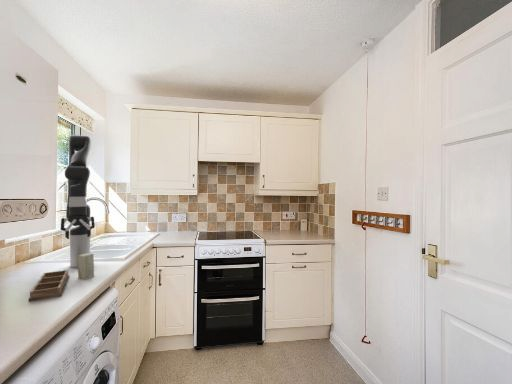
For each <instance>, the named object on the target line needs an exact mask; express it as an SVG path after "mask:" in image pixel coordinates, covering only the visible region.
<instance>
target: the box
mask: <svg viewBox="0 0 512 384" xmlns="http://www.w3.org/2000/svg"><path fill="white" fill-rule="evenodd" d="M94 258H95V257H94V253H91V252H90V253H86V254H82V255H78V267H77V274H78V275H77V276H78V277H77V279H79V280H83V281H85V280H89V279H91V278H93V277H95V267H94V266H95V264H94V263H95V262H94V261H95V259H94Z"/></svg>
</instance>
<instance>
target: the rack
mask: <svg viewBox="0 0 512 384" xmlns="http://www.w3.org/2000/svg"><path fill="white" fill-rule="evenodd" d="M69 279H70V275H69V270H68V269H66V270H59V271H58V270H57V271H50V272H43V274H42V275H41V276H40V278H39V279H38V281H37V282H36V283H35V284H34V286H33V287H32V288H31V290H30V291H29V297H28V302H36V301H40V300H47V299H52V298H60V297H62V295H63V293H64V291H65V288H67V287H66V286H67V284H68V281H69Z"/></svg>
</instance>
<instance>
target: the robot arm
mask: <svg viewBox="0 0 512 384" xmlns="http://www.w3.org/2000/svg"><path fill="white" fill-rule="evenodd" d="M67 145H68V165H67V166H66V168H65V170H64V177H65V178H66V179H67V201H66V212H65V215H66V216H65V217H62V218H61V219H60V230H61V231H64V234H65V238H66V239H67V240H69V255H70V257H69V258H70V259H69V261H70V263H69V264H70V265H69V266H70V268H78V255H82V254H86V253H90V254H91V236H92V231H91V230H92V229H95V227H96V225H95V217H94V216H91V207H90V205H89V204H88V201H87V186H88V181H89V179H90V176H91V171H90V169H89V168H88V167H87V163H88V158H89V155H90V152H91V149H92V140H91V138H90V136H87V135H78V134H70V135H69V136H68V141H67ZM67 222H69V225H68V226H67V227H65V223H67ZM90 225H91V226H90ZM72 227H73V228H72Z"/></svg>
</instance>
